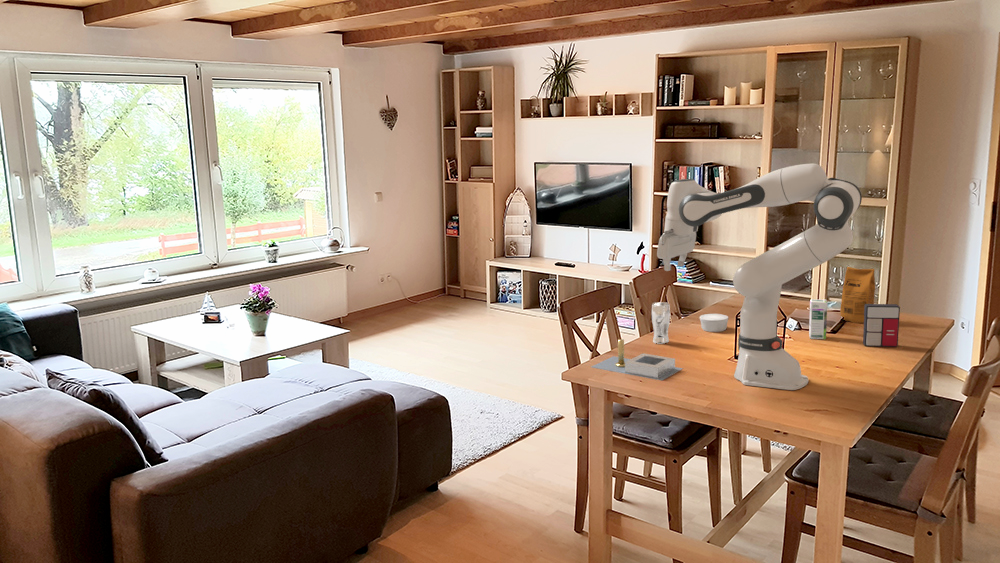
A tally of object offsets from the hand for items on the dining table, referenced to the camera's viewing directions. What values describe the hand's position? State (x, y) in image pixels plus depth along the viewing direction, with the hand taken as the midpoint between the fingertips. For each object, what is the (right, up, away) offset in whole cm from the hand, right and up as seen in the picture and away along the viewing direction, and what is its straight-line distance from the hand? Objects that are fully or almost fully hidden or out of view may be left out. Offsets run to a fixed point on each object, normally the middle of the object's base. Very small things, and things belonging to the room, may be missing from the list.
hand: (674, 268), depth 254 cm
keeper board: (-12, -35, +2) cm, 37 cm away
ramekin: (+28, -24, +52) cm, 64 cm away
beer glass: (+3, -28, +37) cm, 47 cm away
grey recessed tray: (-8, -34, -2) cm, 35 cm away
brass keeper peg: (-17, -33, +5) cm, 38 cm away
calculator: (+80, -28, +21) cm, 87 cm away
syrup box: (+63, -26, +35) cm, 76 cm away
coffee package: (+88, -21, +57) cm, 107 cm away
